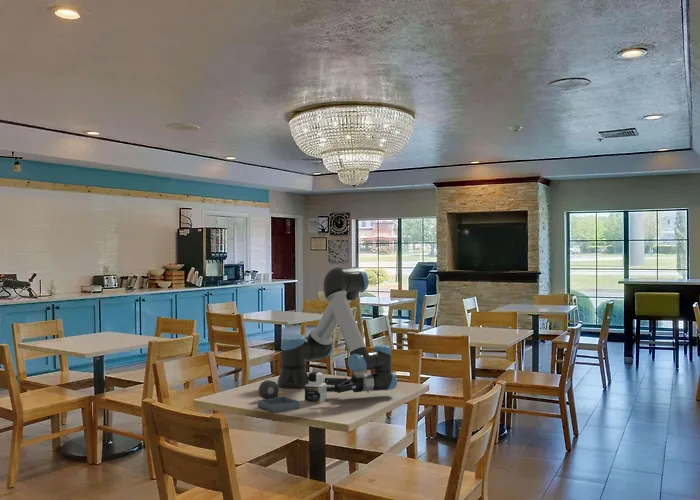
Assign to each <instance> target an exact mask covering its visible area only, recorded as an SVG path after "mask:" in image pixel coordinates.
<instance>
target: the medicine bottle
mask: <svg viewBox="0 0 700 500" xmlns="http://www.w3.org/2000/svg"><path fill="white" fill-rule="evenodd" d="M323 376H324V375H323V373H322V372H319V371H312V372H310V373H308V382H309V384H307V385H305V387H304V403H310V404H321V403H324V402H325V401H327V392H326V393H318V386H327V385H326V383H322V382H323V379H324V377H323Z"/></svg>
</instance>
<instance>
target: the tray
mask: <svg viewBox="0 0 700 500" xmlns="http://www.w3.org/2000/svg"><path fill="white" fill-rule="evenodd" d="M257 406H258V408H260V409H262V410H265V411H267V412H270V413H272V414H275V413H280V412H281V413H282V412H288V411H290V410H291V411H292V410H298V409H300V408H301V401H299V400H296V399H293V398H290V397H287V396H285V395H284V396H283V397H277V398H271V399H259V400H257Z"/></svg>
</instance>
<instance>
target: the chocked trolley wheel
mask: <svg viewBox="0 0 700 500" xmlns="http://www.w3.org/2000/svg"><path fill="white" fill-rule="evenodd" d="M279 388H280V387H278V385H277V382H275V381H273V380H270V379H267V380H264V381H262V382H261V383H260V385H259V386H258V394H259V396H260V398H261V399H262V400H265V399H271V398H277V397H283V396H284V397H285V392H284V391H281V390H280V391H279Z"/></svg>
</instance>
